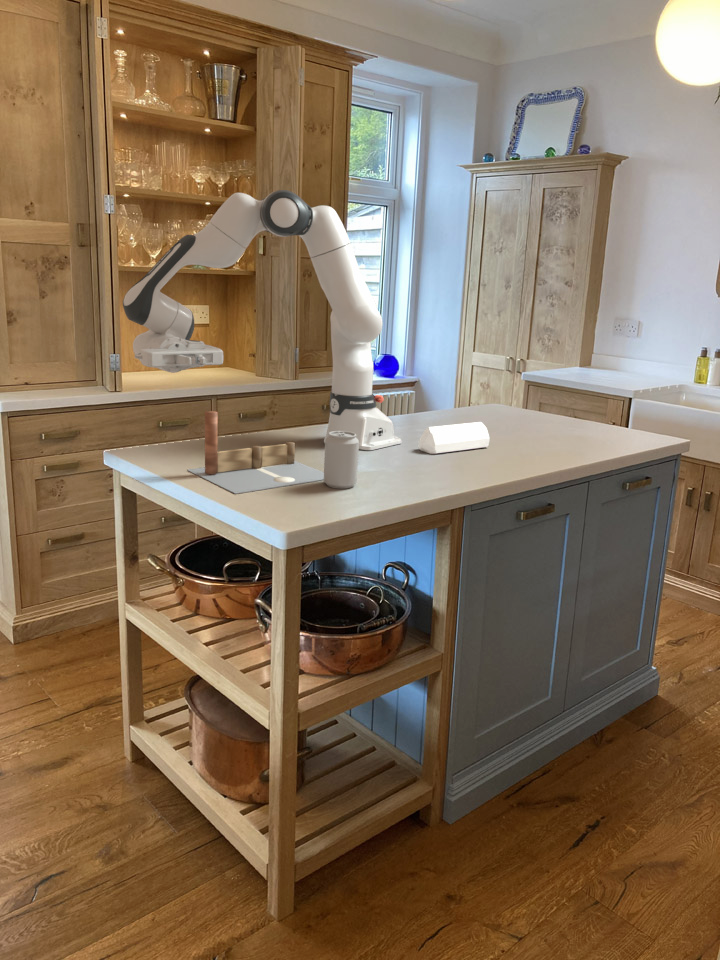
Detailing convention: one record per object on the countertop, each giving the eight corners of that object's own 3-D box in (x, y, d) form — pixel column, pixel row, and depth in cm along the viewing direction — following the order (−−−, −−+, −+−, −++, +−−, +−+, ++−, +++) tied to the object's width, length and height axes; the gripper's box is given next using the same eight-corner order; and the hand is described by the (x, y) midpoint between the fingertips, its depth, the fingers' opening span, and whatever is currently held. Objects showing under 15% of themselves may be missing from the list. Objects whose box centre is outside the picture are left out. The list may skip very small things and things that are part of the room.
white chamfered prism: (435, 443, 204) (499, 436, 218) (421, 425, 208) (485, 419, 221) (424, 464, 208) (488, 455, 222) (410, 446, 212) (473, 438, 226)
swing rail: (247, 465, 184) (248, 407, 180) (253, 468, 182) (254, 409, 178) (202, 472, 177) (202, 411, 173) (208, 474, 174) (208, 413, 171)
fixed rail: (290, 461, 191) (291, 441, 190) (296, 463, 190) (296, 443, 188) (249, 466, 184) (249, 446, 183) (254, 469, 182) (254, 448, 181)
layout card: (284, 457, 196) (284, 456, 196) (337, 477, 180) (337, 477, 179) (186, 470, 179) (187, 469, 179) (235, 494, 163) (235, 493, 163)
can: (327, 490, 170) (329, 436, 166) (320, 480, 176) (322, 429, 173) (360, 489, 172) (363, 436, 168) (351, 480, 178) (354, 429, 175)
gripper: (131, 342, 186) (156, 348, 176) (207, 340, 199) (234, 346, 188) (131, 368, 188) (156, 376, 177) (207, 365, 200) (234, 372, 190)
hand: (197, 361), depth 183 cm, fingers closed
